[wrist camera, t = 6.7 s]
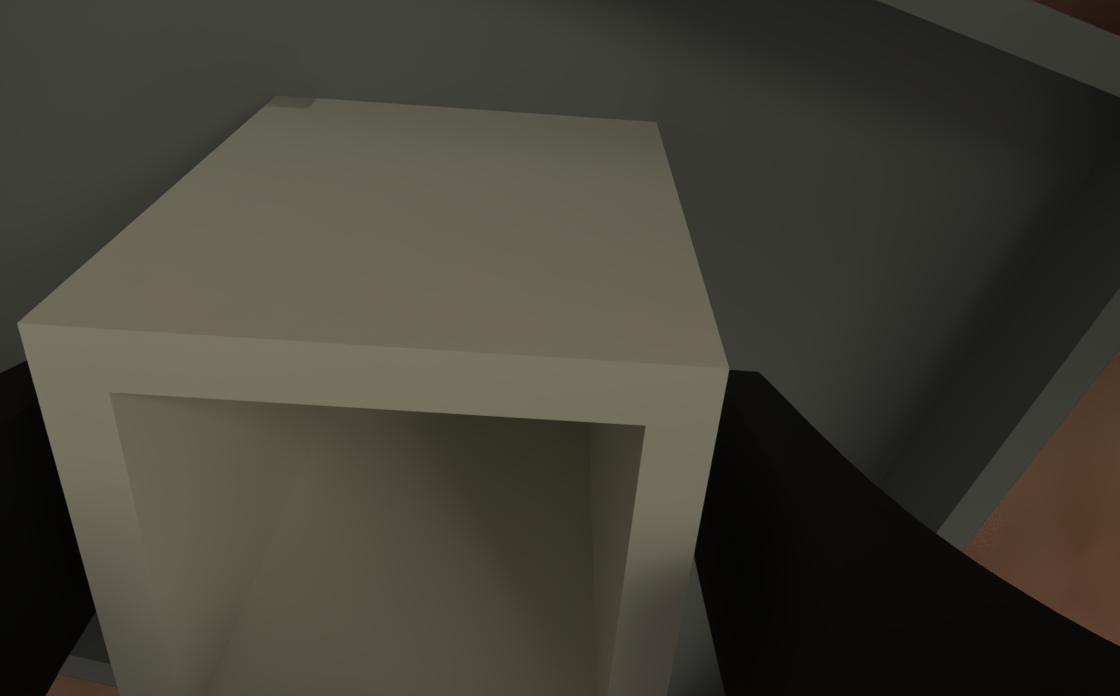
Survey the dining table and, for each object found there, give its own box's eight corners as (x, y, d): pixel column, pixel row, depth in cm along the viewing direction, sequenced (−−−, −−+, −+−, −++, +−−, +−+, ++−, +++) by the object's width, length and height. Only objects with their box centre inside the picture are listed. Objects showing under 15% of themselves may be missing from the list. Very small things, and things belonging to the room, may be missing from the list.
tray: (1162, 58, 14) (1302, 111, 11) (724, 707, 21) (745, 829, 19) (-82, -452, 11) (-290, -542, 8) (-70, 509, 18) (-175, 620, 16)
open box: (656, 121, 13) (729, 368, 7) (618, 430, 16) (647, 796, 10) (276, 94, 13) (16, 323, 7) (305, 411, 16) (140, 770, 10)
